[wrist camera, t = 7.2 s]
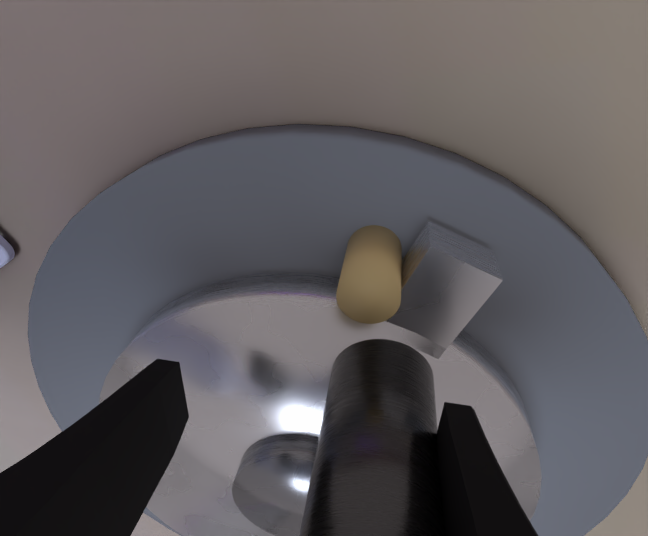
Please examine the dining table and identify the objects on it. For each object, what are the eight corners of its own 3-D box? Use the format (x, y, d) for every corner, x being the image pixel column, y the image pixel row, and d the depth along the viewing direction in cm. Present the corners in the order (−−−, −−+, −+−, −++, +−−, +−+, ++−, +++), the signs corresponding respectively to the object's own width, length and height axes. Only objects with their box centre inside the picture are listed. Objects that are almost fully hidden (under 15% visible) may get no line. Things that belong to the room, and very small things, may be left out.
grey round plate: (26, 439, 24) (-36, 511, 21) (118, -47, 12) (-1, -64, 8) (407, 603, 27) (408, 690, 24) (813, 356, 14) (939, 466, 11)
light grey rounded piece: (396, 590, 23) (393, 820, 16) (96, 472, 21) (-35, 674, 15) (705, 352, 13) (997, 698, 7) (186, 104, 11) (-86, 239, 5)
